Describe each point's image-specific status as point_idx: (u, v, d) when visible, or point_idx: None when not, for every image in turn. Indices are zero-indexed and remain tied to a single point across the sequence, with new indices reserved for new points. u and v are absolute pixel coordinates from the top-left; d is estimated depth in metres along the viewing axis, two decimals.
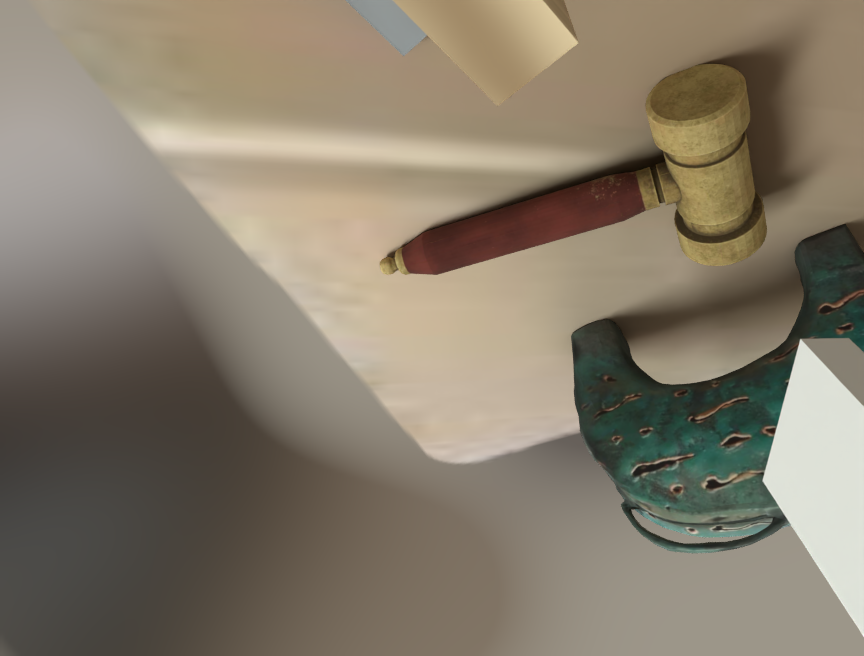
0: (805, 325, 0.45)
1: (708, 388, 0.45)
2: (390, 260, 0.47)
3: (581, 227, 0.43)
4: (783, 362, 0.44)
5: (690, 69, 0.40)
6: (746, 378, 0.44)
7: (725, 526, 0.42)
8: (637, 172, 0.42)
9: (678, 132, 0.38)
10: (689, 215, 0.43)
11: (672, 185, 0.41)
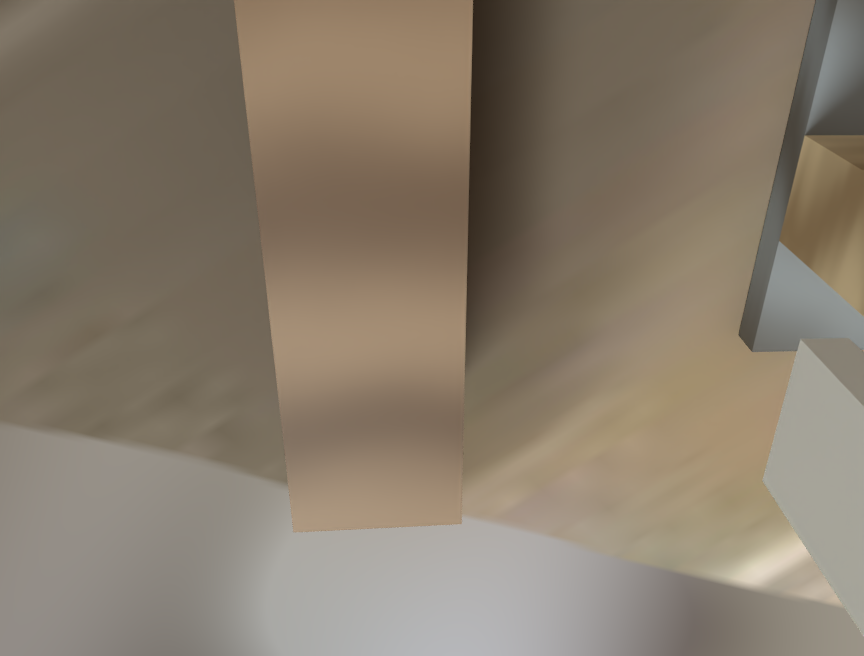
0: None
1: None
2: None
3: None
4: None
5: None
6: None
7: None
8: None
9: None
10: None
11: None
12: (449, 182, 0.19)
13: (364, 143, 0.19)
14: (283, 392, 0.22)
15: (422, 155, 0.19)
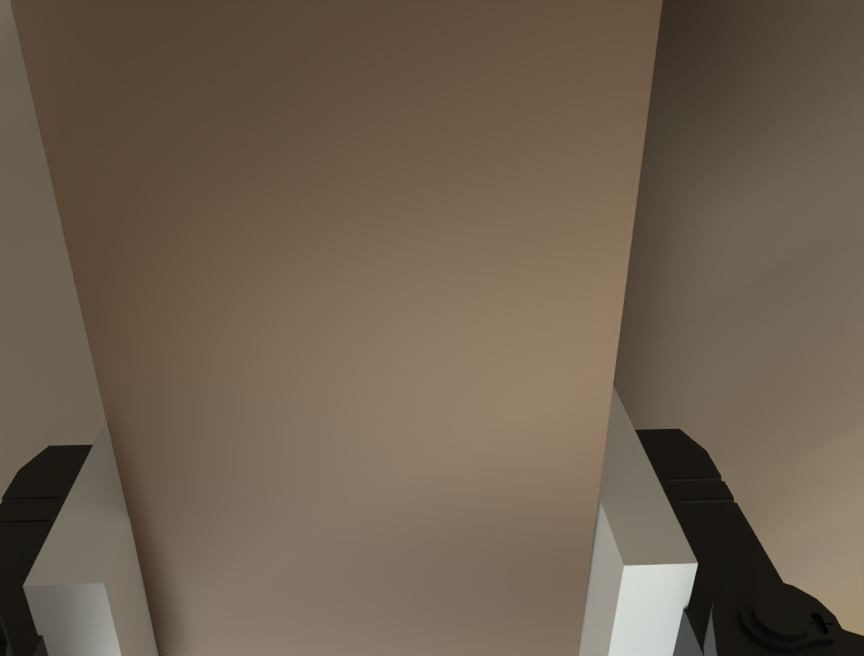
0: None
1: None
2: None
3: None
4: None
5: None
6: None
7: None
8: None
9: None
10: None
11: None
12: (552, 549, 0.09)
13: (373, 487, 0.09)
14: None
15: (496, 505, 0.09)
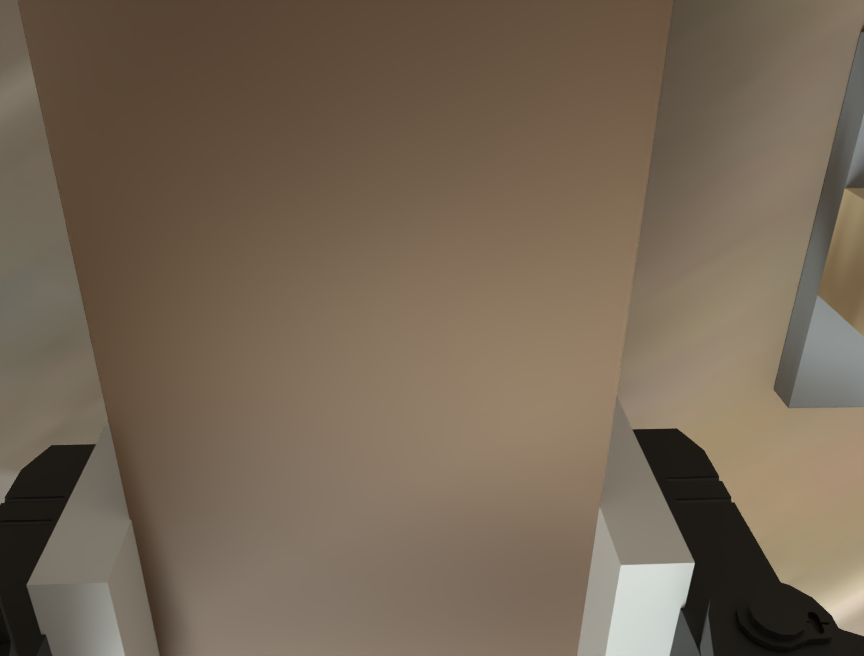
0: None
1: None
2: None
3: None
4: None
5: None
6: None
7: None
8: None
9: None
10: None
11: None
12: (553, 556, 0.09)
13: (375, 493, 0.09)
14: None
15: (499, 513, 0.09)
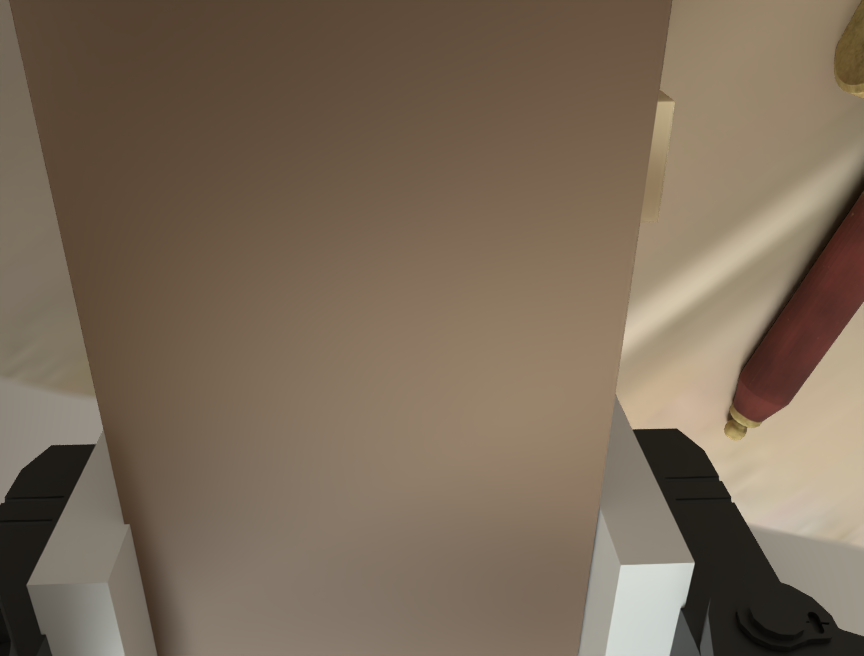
0: None
1: None
2: (732, 423, 0.40)
3: None
4: None
5: (855, 13, 0.31)
6: None
7: None
8: None
9: None
10: None
11: None
12: (550, 563, 0.09)
13: (372, 501, 0.09)
14: None
15: (497, 520, 0.09)
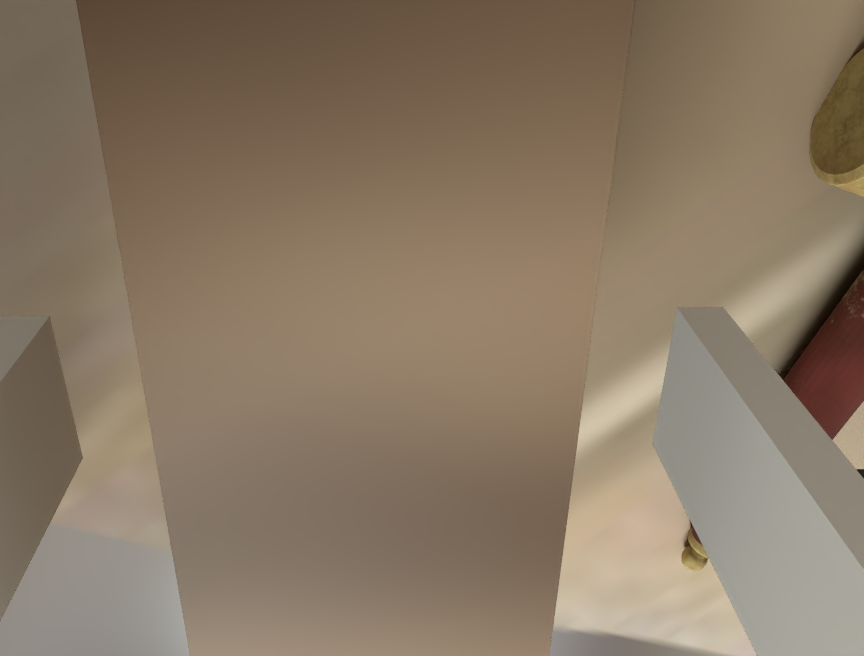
0: None
1: None
2: (690, 551, 0.33)
3: None
4: None
5: (836, 83, 0.25)
6: None
7: None
8: None
9: None
10: None
11: None
12: (534, 491, 0.10)
13: (375, 429, 0.10)
14: None
15: (486, 448, 0.10)
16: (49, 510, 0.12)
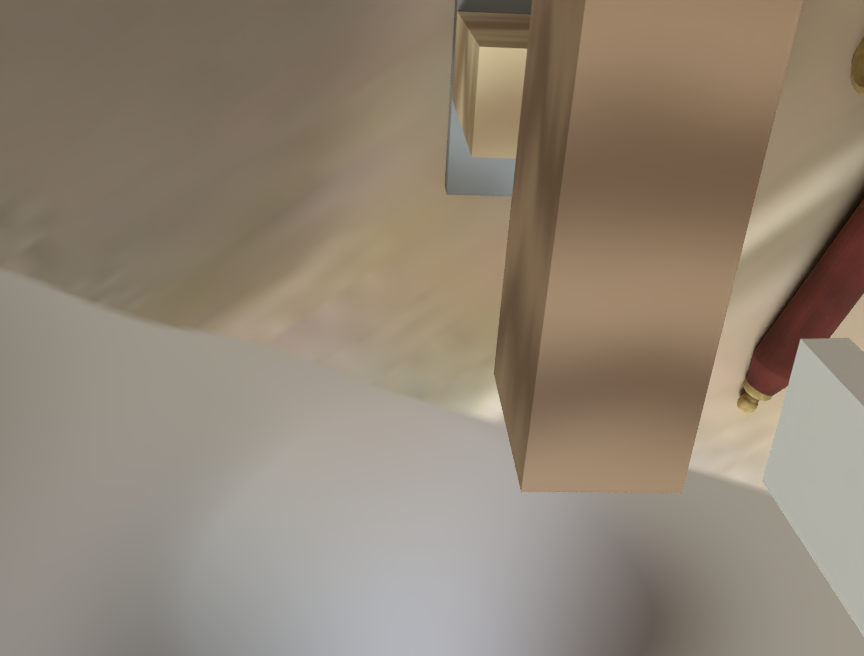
0: None
1: None
2: (744, 396, 0.43)
3: None
4: None
5: None
6: None
7: None
8: None
9: None
10: None
11: None
12: (748, 151, 0.20)
13: (678, 107, 0.20)
14: (544, 348, 0.23)
15: (728, 123, 0.20)
16: None
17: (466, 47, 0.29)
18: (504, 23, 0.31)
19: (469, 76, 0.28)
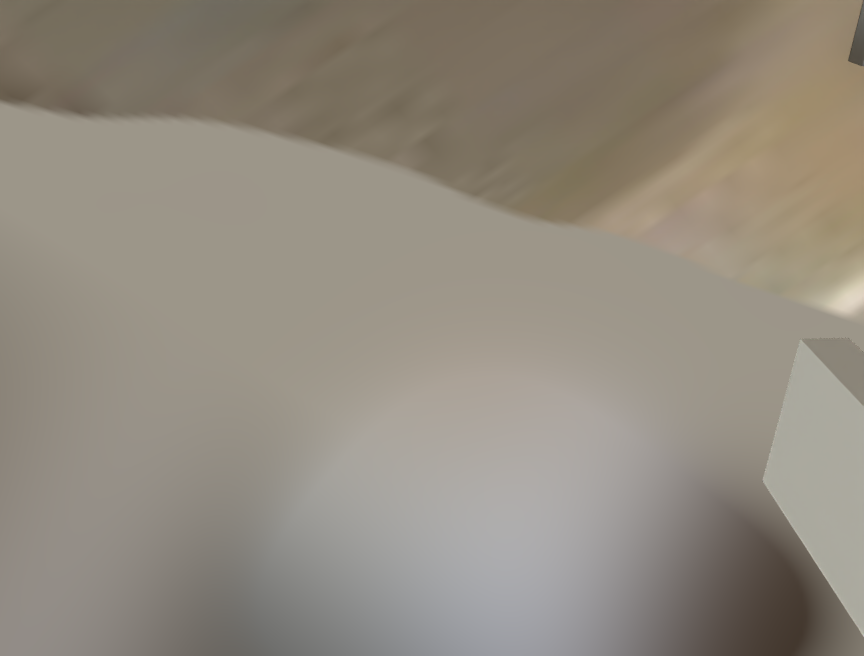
0: None
1: None
2: None
3: None
4: None
5: None
6: None
7: None
8: None
9: None
10: None
11: None
12: None
13: None
14: None
15: None
16: None
17: None
18: None
19: None
